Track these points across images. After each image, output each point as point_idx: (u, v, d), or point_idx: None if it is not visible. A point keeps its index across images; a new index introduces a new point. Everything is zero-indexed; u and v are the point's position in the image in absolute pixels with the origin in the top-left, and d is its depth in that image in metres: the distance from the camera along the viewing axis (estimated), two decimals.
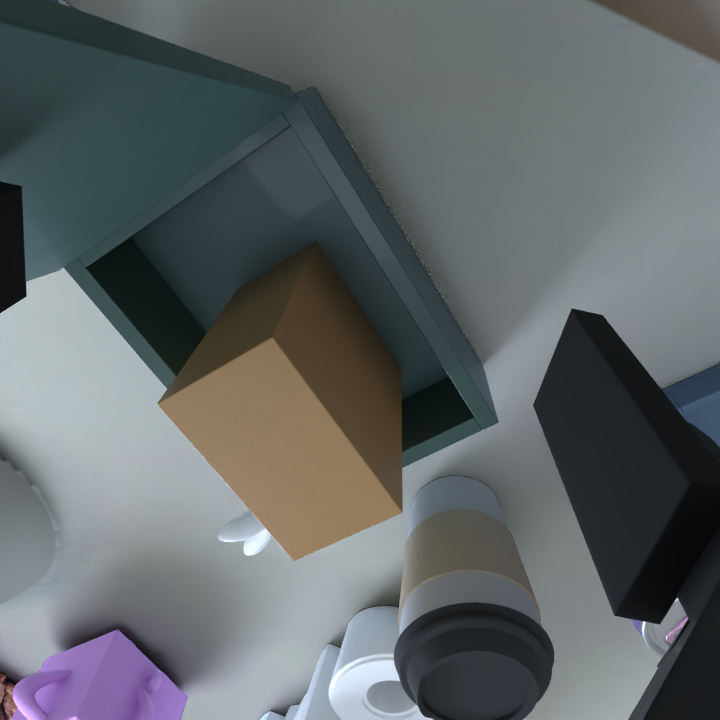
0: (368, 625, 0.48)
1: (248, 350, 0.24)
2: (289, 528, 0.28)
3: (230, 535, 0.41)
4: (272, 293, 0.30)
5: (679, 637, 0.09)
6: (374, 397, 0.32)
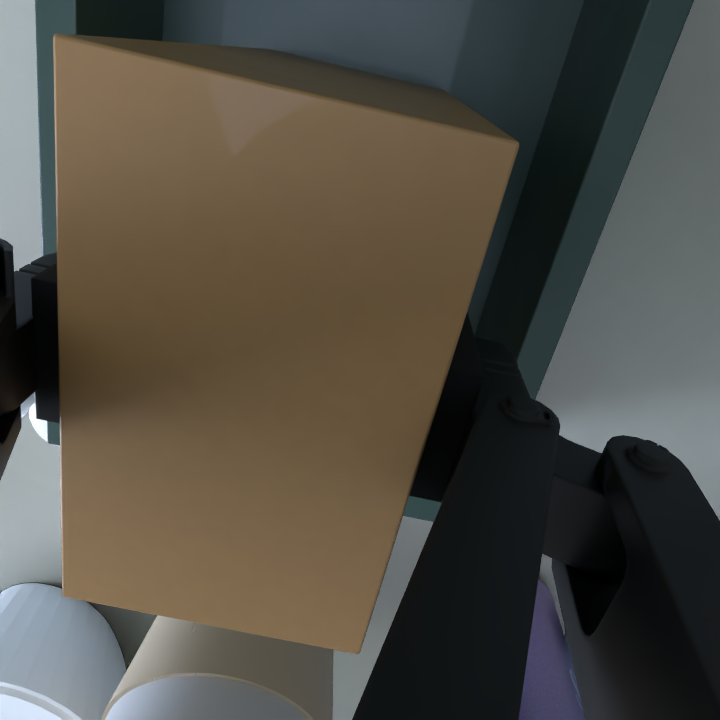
0: (41, 618, 0.30)
1: (429, 119, 0.08)
2: (114, 541, 0.11)
3: None
4: (395, 87, 0.14)
5: None
6: None
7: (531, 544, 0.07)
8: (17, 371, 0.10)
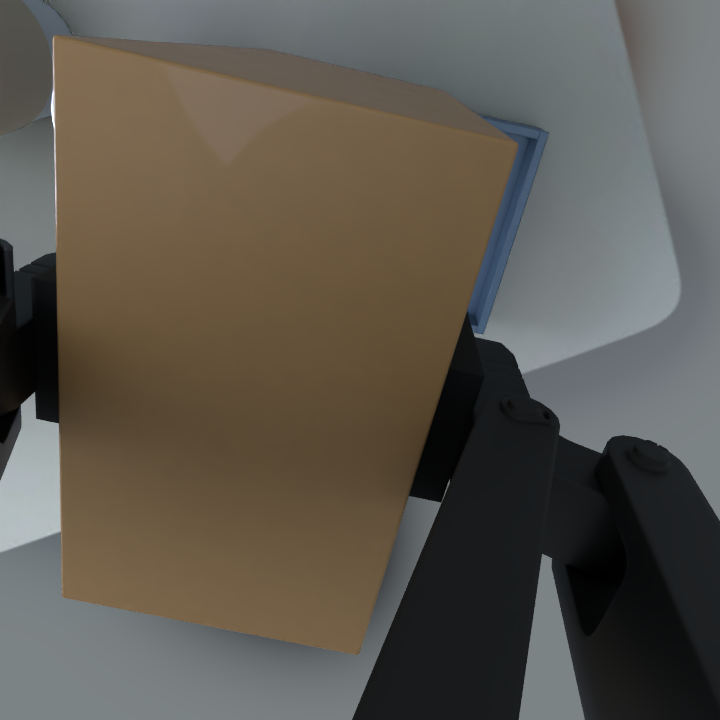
0: None
1: (428, 120, 0.08)
2: (113, 542, 0.11)
3: None
4: (395, 88, 0.14)
5: None
6: None
7: (531, 544, 0.07)
8: (17, 371, 0.10)
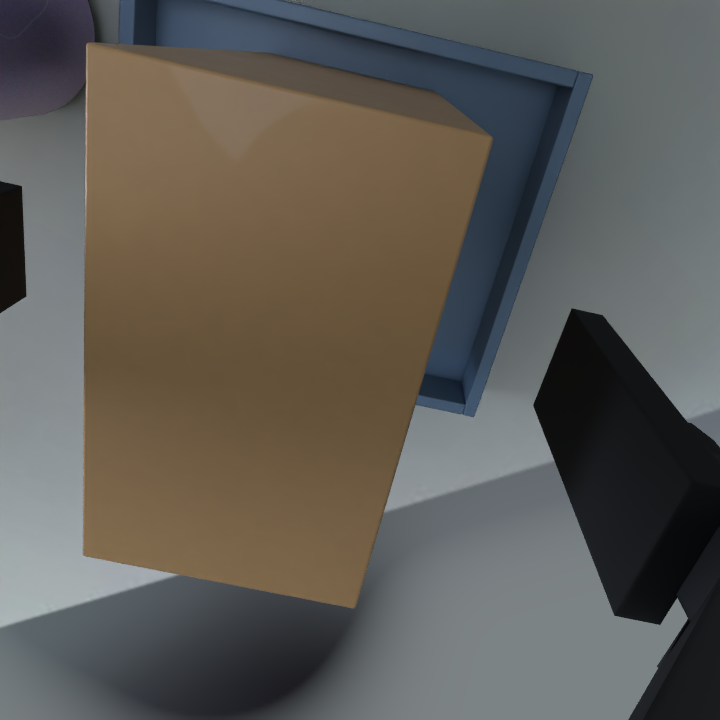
0: None
1: (414, 117, 0.09)
2: (131, 503, 0.12)
3: None
4: (388, 89, 0.15)
5: (679, 637, 0.09)
6: None
7: None
8: None
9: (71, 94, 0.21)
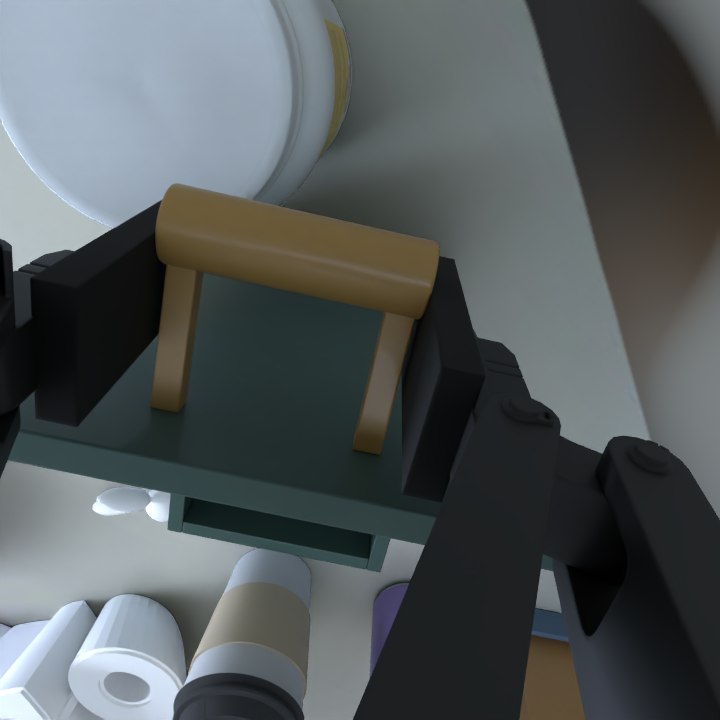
0: (141, 615, 0.52)
1: None
2: None
3: (109, 502, 0.43)
4: (578, 704, 0.47)
5: None
6: None
7: (532, 544, 0.07)
8: (16, 371, 0.10)
9: None
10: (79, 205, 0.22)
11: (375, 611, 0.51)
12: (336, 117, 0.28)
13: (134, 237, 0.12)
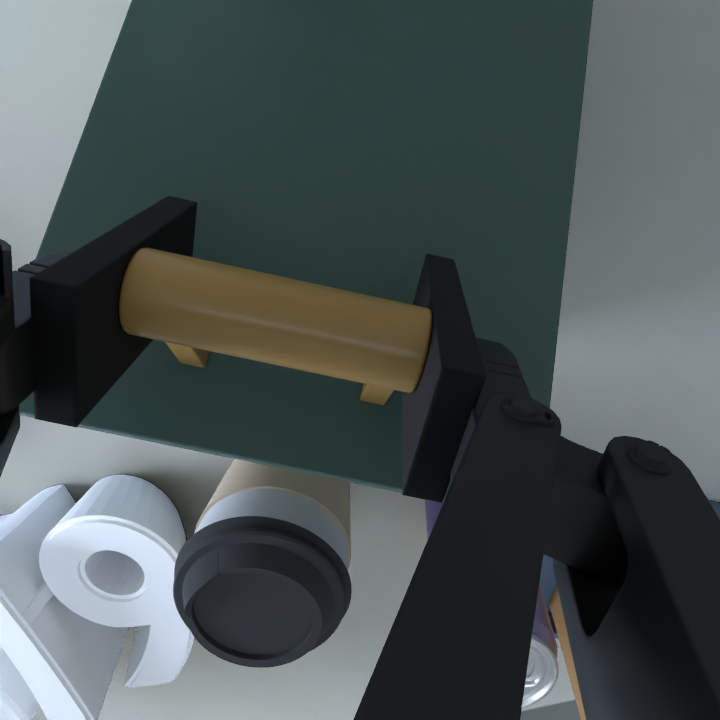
0: (133, 491, 0.41)
1: None
2: None
3: None
4: None
5: None
6: None
7: (532, 545, 0.07)
8: (16, 371, 0.10)
9: None
10: None
11: None
12: None
13: (133, 237, 0.12)
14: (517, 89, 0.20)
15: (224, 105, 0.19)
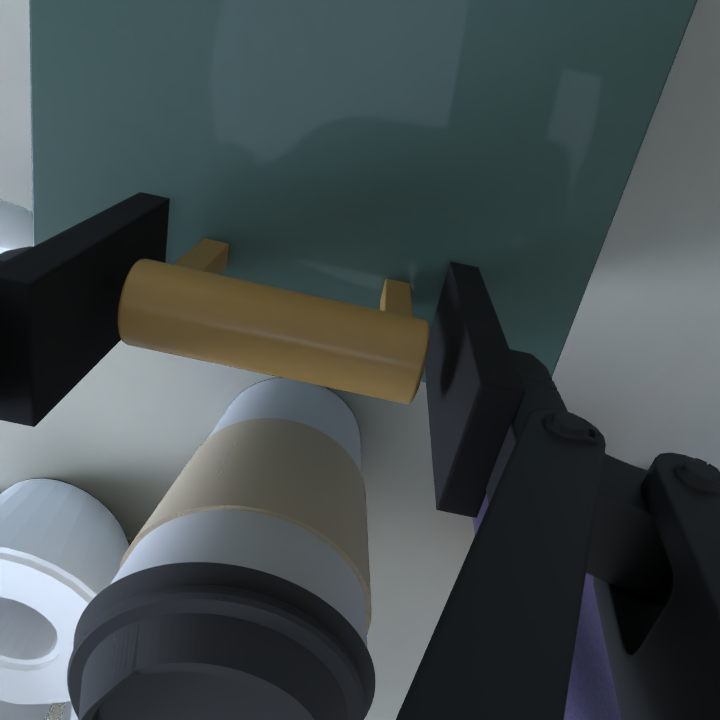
0: (50, 504, 0.28)
1: None
2: None
3: None
4: None
5: None
6: None
7: (574, 565, 0.07)
8: None
9: None
10: None
11: None
12: None
13: (97, 233, 0.12)
14: None
15: None
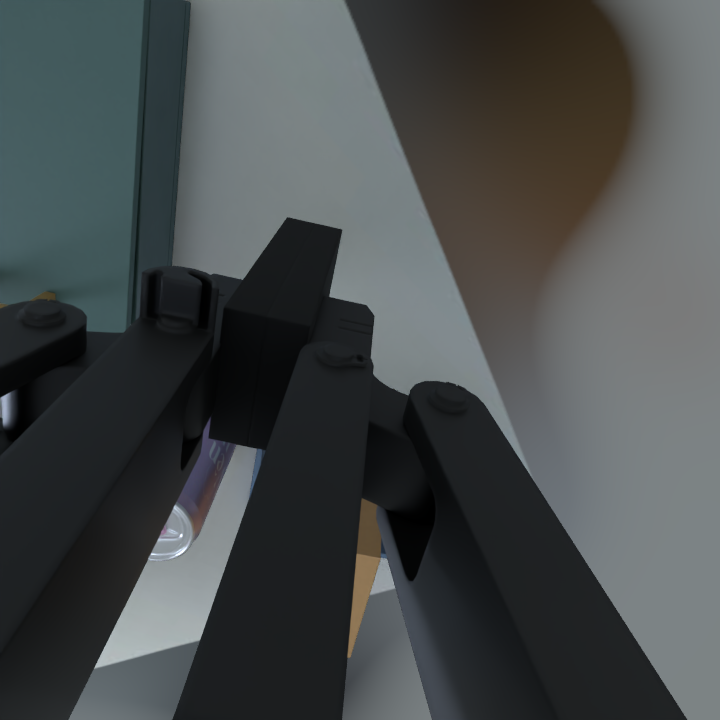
0: None
1: (362, 553, 0.40)
2: None
3: None
4: None
5: None
6: None
7: (352, 480, 0.07)
8: (208, 395, 0.10)
9: None
10: None
11: None
12: None
13: (283, 262, 0.13)
14: (98, 130, 0.35)
15: None
